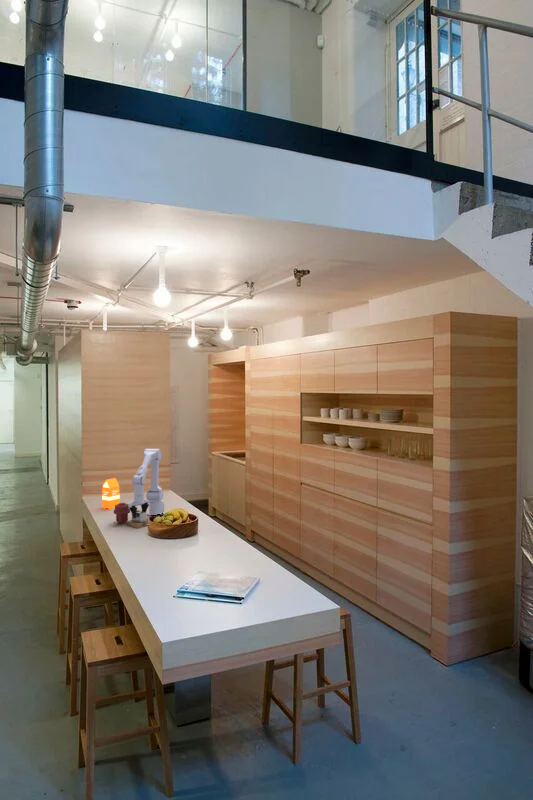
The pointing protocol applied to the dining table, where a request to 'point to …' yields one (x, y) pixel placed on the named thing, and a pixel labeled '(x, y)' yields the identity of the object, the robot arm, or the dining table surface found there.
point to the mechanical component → (121, 512)
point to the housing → (140, 516)
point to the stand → (137, 523)
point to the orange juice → (110, 493)
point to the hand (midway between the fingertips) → (139, 516)
